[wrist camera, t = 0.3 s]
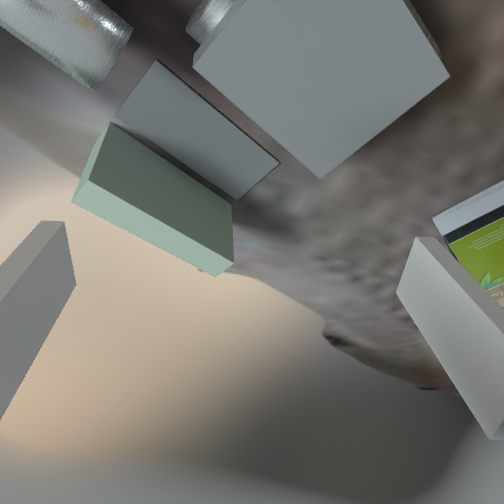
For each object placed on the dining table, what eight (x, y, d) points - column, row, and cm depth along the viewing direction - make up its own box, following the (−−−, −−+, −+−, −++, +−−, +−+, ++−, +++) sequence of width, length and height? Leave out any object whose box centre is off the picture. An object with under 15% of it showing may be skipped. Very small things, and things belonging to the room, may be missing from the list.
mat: (156, 59, 33) (155, 60, 33) (279, 162, 42) (279, 163, 42) (115, 115, 37) (114, 116, 37) (237, 199, 45) (237, 200, 45)
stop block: (110, 122, 37) (87, 180, 31) (231, 204, 46) (234, 263, 39) (95, 142, 39) (71, 201, 32) (215, 218, 47) (215, 277, 41)
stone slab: (324, -113, 21) (333, -110, 20) (437, 63, 29) (450, 76, 27) (193, 54, 27) (192, 67, 26) (315, 163, 35) (320, 179, 33)
